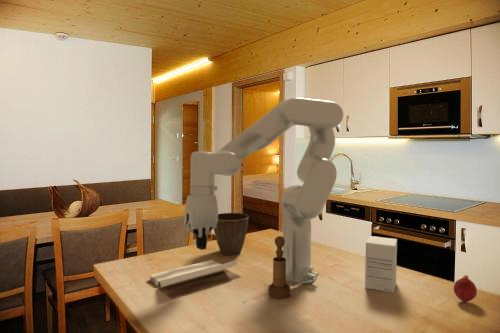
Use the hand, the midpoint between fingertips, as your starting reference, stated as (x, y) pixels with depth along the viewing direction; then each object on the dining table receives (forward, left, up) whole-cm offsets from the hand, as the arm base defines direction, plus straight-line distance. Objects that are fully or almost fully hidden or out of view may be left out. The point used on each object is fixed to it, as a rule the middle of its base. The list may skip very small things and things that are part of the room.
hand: (201, 248), depth 114 cm
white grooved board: (+5, -1, -13) cm, 14 cm away
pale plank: (+2, -1, -9) cm, 10 cm away
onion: (-57, -54, -13) cm, 80 cm away
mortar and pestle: (-19, -16, -13) cm, 28 cm away
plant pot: (+21, -27, -13) cm, 36 cm away
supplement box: (-35, -46, -13) cm, 59 cm away
